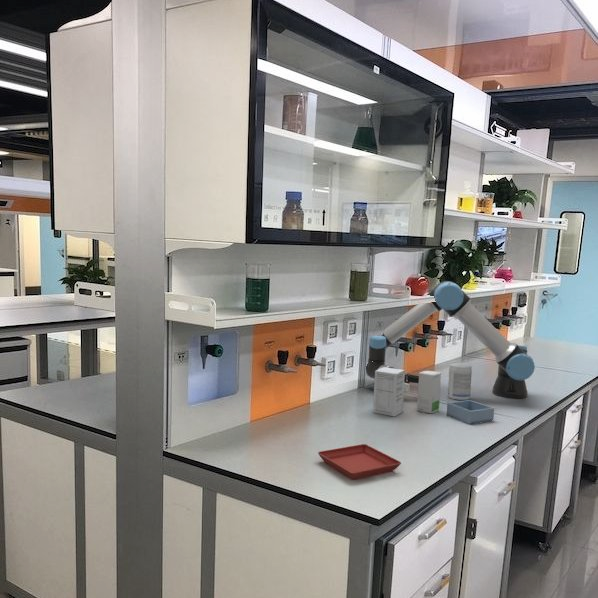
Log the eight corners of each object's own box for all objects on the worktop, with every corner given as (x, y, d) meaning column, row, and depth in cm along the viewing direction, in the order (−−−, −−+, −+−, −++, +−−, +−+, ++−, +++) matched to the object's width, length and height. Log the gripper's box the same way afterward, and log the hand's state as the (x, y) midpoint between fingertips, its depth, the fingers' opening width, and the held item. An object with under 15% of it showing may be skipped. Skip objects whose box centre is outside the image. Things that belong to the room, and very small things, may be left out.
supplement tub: (474, 399, 255) (477, 366, 253) (459, 401, 249) (462, 368, 248) (457, 394, 263) (459, 362, 261) (442, 396, 257) (445, 363, 256)
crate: (469, 412, 234) (470, 399, 234) (493, 420, 223) (494, 408, 223) (446, 415, 228) (447, 402, 227) (470, 424, 217) (471, 411, 217)
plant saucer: (316, 461, 174) (316, 451, 174) (364, 453, 183) (364, 442, 183) (351, 484, 159) (352, 473, 158) (402, 473, 168) (402, 462, 168)
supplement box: (403, 411, 231) (406, 369, 229) (395, 417, 223) (397, 373, 221) (381, 407, 235) (383, 366, 234) (372, 412, 227) (374, 370, 226)
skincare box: (430, 414, 229) (433, 375, 227) (415, 410, 233) (417, 372, 231) (439, 409, 235) (442, 372, 234) (424, 406, 239) (426, 369, 238)
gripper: (410, 381, 261) (444, 392, 243) (365, 385, 249) (397, 398, 230) (412, 364, 260) (445, 375, 242) (366, 368, 248) (398, 379, 230)
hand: (421, 386), depth 236 cm, fingers open, 13 cm apart
